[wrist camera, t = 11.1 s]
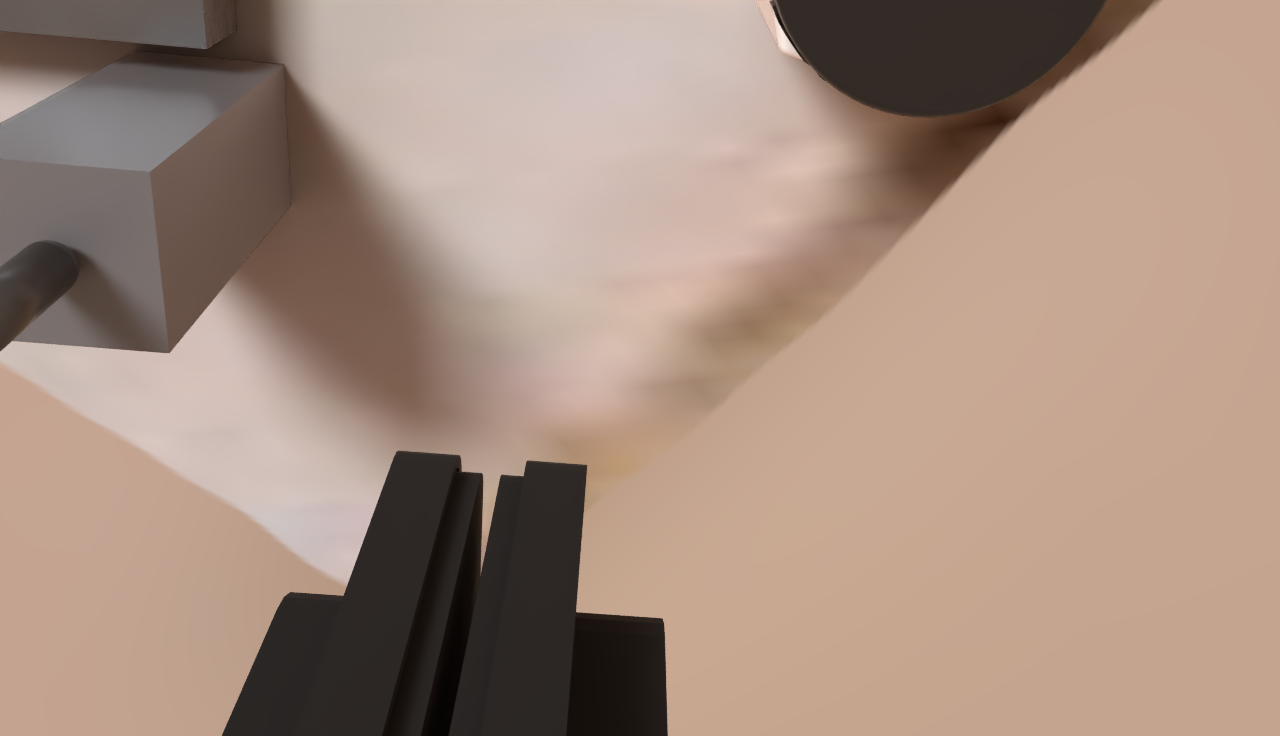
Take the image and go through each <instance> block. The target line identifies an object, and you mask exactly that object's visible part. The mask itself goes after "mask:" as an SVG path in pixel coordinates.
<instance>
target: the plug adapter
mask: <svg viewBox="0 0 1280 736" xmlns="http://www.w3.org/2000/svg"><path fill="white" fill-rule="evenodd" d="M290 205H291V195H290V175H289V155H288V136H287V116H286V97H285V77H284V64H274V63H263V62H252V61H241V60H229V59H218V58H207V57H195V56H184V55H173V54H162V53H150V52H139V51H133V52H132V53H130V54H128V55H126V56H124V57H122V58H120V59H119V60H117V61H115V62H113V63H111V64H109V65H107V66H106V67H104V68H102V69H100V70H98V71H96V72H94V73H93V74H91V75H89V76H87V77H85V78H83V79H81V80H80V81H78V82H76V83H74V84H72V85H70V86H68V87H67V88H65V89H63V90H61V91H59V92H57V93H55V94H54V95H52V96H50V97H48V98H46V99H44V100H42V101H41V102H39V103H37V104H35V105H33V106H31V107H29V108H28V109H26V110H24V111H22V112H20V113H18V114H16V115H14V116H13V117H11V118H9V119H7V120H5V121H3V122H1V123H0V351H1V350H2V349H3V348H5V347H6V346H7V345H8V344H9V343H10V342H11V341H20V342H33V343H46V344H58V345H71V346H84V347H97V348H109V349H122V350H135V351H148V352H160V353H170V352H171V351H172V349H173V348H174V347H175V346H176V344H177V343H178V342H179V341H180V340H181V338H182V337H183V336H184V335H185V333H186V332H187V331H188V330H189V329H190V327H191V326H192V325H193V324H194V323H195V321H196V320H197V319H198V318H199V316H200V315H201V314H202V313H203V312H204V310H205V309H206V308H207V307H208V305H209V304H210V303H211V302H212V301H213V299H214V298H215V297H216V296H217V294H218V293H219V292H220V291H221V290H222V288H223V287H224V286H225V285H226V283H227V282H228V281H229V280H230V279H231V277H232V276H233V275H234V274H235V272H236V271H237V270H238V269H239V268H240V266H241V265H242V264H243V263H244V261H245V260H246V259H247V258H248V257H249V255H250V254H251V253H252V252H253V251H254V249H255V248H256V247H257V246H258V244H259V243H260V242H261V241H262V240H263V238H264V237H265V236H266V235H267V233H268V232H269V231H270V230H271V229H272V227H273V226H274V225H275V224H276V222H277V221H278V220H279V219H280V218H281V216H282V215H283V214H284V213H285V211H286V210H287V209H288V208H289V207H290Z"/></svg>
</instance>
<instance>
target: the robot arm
mask: <svg viewBox="0 0 1280 736" xmlns="http://www.w3.org/2000/svg"><path fill="white" fill-rule="evenodd" d="M586 474H587V465H579V464H566V463H553V462H540V461H527V462H526V467H525V472H524V477H523V476H510V475H501V478H500V482H499V487H498V492H497V497H496V502H495V507H494V512H493V517H492V522H491V527H490V532H489V537H488V542H487V547H486V552H485V557H484V562H483V567H482V572H481V577H480V570H481V539H482V508H483V475H482V473H470V472H462V466H461V458H460V455H448V454H434V453H421V452H408V451H398V452H396V454H395V456H394V459H393V461H392V464H391V467H390V470H389V472H388V475H387V478H386V481H385V483H384V486H383V489H382V492H381V494H380V497H379V500H378V503H377V505H376V508H375V511H374V514H373V516H372V519H371V522H370V525H369V527H368V530H367V533H366V536H365V538H364V541H363V544H362V547H361V549H360V552H359V555H358V558H357V560H356V563H355V566H354V569H353V571H352V574H351V577H350V580H349V582H348V585H347V588H346V591H345V593H344V596H337V595H322V594H309V593H308V594H307V593H294V592H290V593H289V594H287V595H286V596H285V597H284V598H283V600H282V602H281V603H280V605H279V607H278V609H277V611H276V613H275V615H274V618H273V620H272V622H271V625H270V627H269V629H268V632H267V634H266V636H265V638H264V640H263V643H262V645H261V647H260V650H259V652H258V654H257V657H256V659H255V661H254V663H253V666H252V668H251V670H250V673H249V675H248V677H247V679H246V682H245V684H244V686H243V688H242V691H241V693H240V696H239V698H238V700H237V702H236V704H235V707H234V709H233V711H232V714H231V716H230V718H229V721H228V723H227V725H226V727H225V730H224V732H223V734H222V736H668V733H667V699H666V662H665V632H664V622H663V619H661V618H648V617H634V616H620V615H605V614H591V613H577V612H576V603H577V590H578V577H579V564H580V551H581V539H582V526H583V513H584V500H585V487H586Z"/></svg>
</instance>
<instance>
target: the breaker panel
mask: <svg viewBox="0 0 1280 736" xmlns="http://www.w3.org/2000/svg"><path fill="white" fill-rule="evenodd" d="M0 31H8V32H19V33H31V34H42V35H53V36H64V37H76V38H87V39H98V40H109V41H121V42H132V43H143V44H154V45H165V46H177V47H188V48H199V49H208V48H209V47H211V46H213V45H214V44H216V43H217V42H219V41H221V40H222V39H224V38H225V37H227V36H229V35H230V34H232V33H233V32H235V31H237V27H236V12H235V0H0Z"/></svg>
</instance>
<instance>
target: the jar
mask: <svg viewBox="0 0 1280 736" xmlns="http://www.w3.org/2000/svg"><path fill="white" fill-rule="evenodd" d="M755 2H756V4H757V6H758V8H759V10H760V12H761V14H762V16H763V18H764V20H765V22H766V24H767V26H768V28H769V30H770V32H771V34H772V36H773V38H774V39H775V41H776V43H777V45H778V47H779V49H780V51H781V52H782V53H783V54H785V55H788V56H791V57H794V58H797V59H800V60H803V61H805V62H806V63H807V64H809V65H810V66H811V67H812V68H813V69H814V70H815V71H816V72H817V74H818V75H819V76H820V77H821V78H822V79H823V80H825V81H827V82H828V83H829V84H830V85H832V86H833V87H834V88H836V89H837V90H839V91H840V92H842V93H843V94H845V95H847V96H848V97H850V98H852V99H854V100H856V101H858V102H860V103H862V104H864V105H866V106H869V107H871V108H874V109H877V110H880V111H883V112H888V113H892V114H896V115H902V116H909V117H924V118H934V117H948V116H954V115H961V114H966V113H970V112H974V111H978V110H981V109H984V108H987V107H989V106H992V105H995V104H997V103H1000V102H1002V101H1004V100H1006V99H1008V98H1011V97H1012V96H1014V95H1016V94H1018V93H1020V92H1021V91H1023V90H1025V89H1027V88H1028V87H1030V86H1031V85H1033V84H1034V83H1035V82H1037V81H1038V80H1040V79H1041V78H1043V77H1044V76H1045V75H1046V74H1047V73H1049V72H1050V71H1051V70H1052V69H1054V68H1055V67H1056V66H1057V65H1058V64H1059V63H1060V62H1061V61H1062V60H1063V59H1064V58H1065V57H1066V56H1067V55H1068V54H1069V53H1070V52H1071V51H1072V50H1073V49H1074V48H1075V46H1076V45H1077V44H1078V43H1079V42H1080V41H1081V39H1082V38H1083V37H1084V35H1085V34H1086V33H1087V31H1088V30H1089V29H1090V27H1091V26H1092V24H1093V23H1094V21H1095V20H1096V18H1097V16H1098V15H1099V13H1100V12H1101V10H1102V8H1103V6H1104V4H1105V2H1106V0H755Z"/></svg>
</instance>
